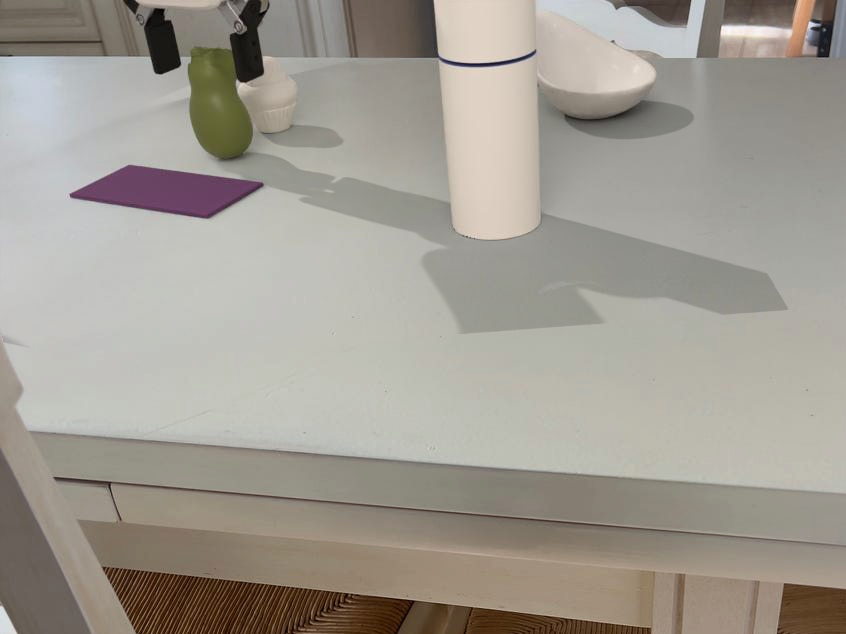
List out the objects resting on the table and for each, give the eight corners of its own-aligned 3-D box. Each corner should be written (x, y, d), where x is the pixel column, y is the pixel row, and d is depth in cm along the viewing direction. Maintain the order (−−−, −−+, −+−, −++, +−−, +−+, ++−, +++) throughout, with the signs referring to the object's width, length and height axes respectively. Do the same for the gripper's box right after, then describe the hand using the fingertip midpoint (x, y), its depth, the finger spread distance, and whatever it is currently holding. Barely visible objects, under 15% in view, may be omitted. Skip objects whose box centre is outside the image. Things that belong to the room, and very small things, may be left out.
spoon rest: (678, 113, 100) (683, 33, 95) (577, 138, 96) (577, 56, 91) (552, 64, 116) (551, -6, 112) (461, 84, 112) (456, 12, 108)
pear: (190, 163, 98) (162, 50, 91) (223, 145, 101) (199, 35, 95) (236, 168, 96) (212, 53, 89) (269, 150, 99) (247, 38, 93)
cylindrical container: (452, 242, 79) (420, -146, 63) (451, 208, 84) (421, -157, 68) (544, 236, 79) (535, -155, 63) (537, 202, 84) (527, -166, 68)
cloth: (69, 197, 92) (68, 194, 92) (129, 167, 98) (129, 164, 98) (207, 218, 86) (206, 215, 86) (263, 185, 92) (263, 182, 91)
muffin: (289, 115, 108) (277, 43, 103) (314, 128, 103) (302, 54, 99) (235, 128, 105) (219, 55, 101) (257, 142, 101) (243, 67, 97)
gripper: (51, -145, 83) (110, 78, 94) (218, -146, 77) (260, 94, 88) (115, -155, 88) (164, 57, 99) (276, -157, 82) (309, 71, 93)
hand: (209, 74), depth 93 cm, fingers open, 9 cm apart
